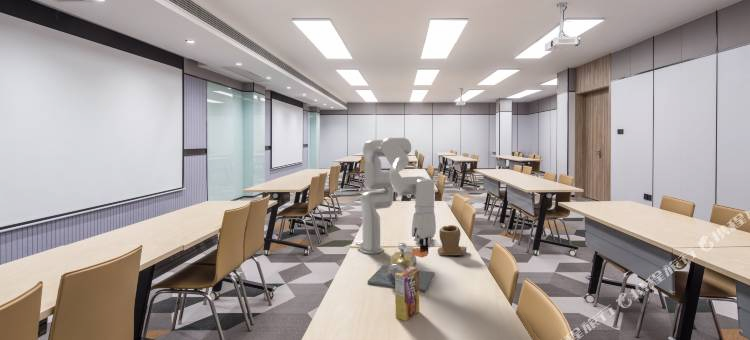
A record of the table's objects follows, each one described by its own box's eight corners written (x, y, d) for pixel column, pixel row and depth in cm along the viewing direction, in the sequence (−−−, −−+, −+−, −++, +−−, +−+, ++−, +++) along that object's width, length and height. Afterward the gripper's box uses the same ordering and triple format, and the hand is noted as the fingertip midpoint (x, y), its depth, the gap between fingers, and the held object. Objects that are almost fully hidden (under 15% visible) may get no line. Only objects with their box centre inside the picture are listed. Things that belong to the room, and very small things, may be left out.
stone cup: (438, 258, 175) (438, 228, 173) (437, 250, 187) (437, 222, 185) (469, 259, 173) (469, 229, 171) (466, 251, 185) (466, 223, 183)
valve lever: (396, 248, 148) (396, 244, 148) (402, 247, 150) (402, 242, 150) (421, 257, 137) (421, 252, 137) (427, 255, 139) (427, 250, 139)
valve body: (367, 283, 144) (367, 253, 143) (382, 267, 162) (382, 240, 161) (425, 292, 136) (425, 260, 135) (434, 274, 154) (434, 246, 152)
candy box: (409, 307, 124) (409, 265, 123) (419, 311, 121) (420, 268, 120) (394, 317, 117) (394, 273, 116) (404, 321, 115) (405, 276, 113)
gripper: (429, 205, 149) (429, 247, 151) (404, 210, 139) (404, 255, 141) (443, 208, 143) (443, 252, 145) (418, 213, 134) (418, 260, 135)
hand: (424, 253), depth 143 cm, fingers closed
